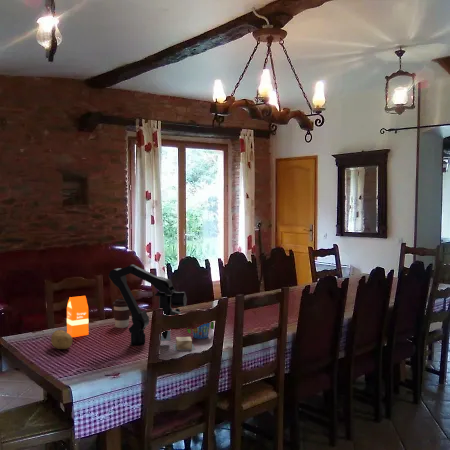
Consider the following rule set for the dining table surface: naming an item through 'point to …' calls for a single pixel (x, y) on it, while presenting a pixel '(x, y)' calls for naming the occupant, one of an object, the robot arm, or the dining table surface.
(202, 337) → the snack cup
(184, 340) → the oak block
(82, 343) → the dining table surface
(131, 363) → the dining table surface
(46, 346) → the dining table surface
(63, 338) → the potato
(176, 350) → the build mat
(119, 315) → the coffee cup
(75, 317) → the orange juice
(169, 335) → the blue cube
